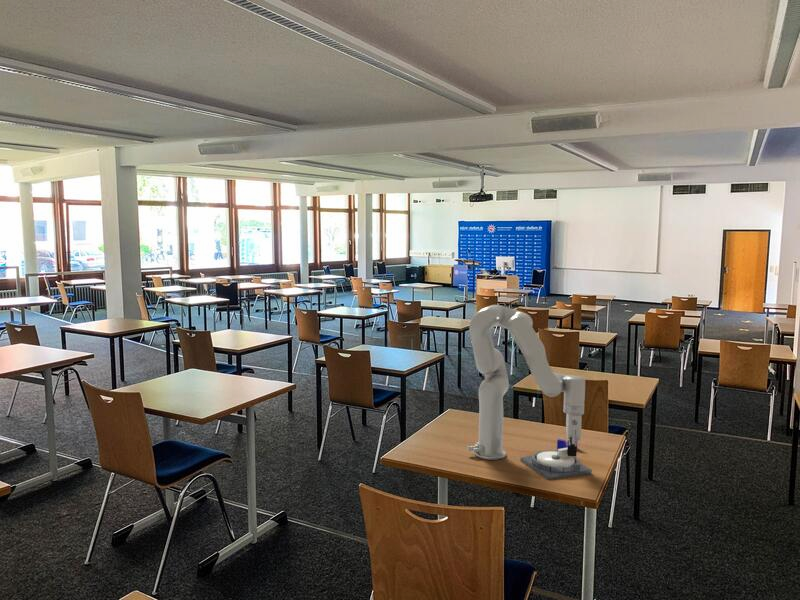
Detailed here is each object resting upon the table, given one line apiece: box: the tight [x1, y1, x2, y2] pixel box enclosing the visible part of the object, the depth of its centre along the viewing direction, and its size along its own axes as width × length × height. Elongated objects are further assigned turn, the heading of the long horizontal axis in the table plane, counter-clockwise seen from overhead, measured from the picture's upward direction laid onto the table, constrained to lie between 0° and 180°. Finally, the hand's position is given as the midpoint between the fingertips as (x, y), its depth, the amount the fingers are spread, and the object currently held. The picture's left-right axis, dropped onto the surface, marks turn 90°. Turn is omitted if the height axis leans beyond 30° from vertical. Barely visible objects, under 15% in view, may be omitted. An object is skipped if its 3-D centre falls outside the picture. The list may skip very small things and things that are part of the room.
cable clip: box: [556, 438, 578, 451], centre depth 241 cm, size 12×4×6 cm, turn 137°
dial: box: [537, 447, 575, 467], centre depth 223 cm, size 14×14×5 cm
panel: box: [520, 449, 593, 480], centre depth 223 cm, size 19×19×4 cm
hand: (571, 455), depth 223 cm, fingers closed
